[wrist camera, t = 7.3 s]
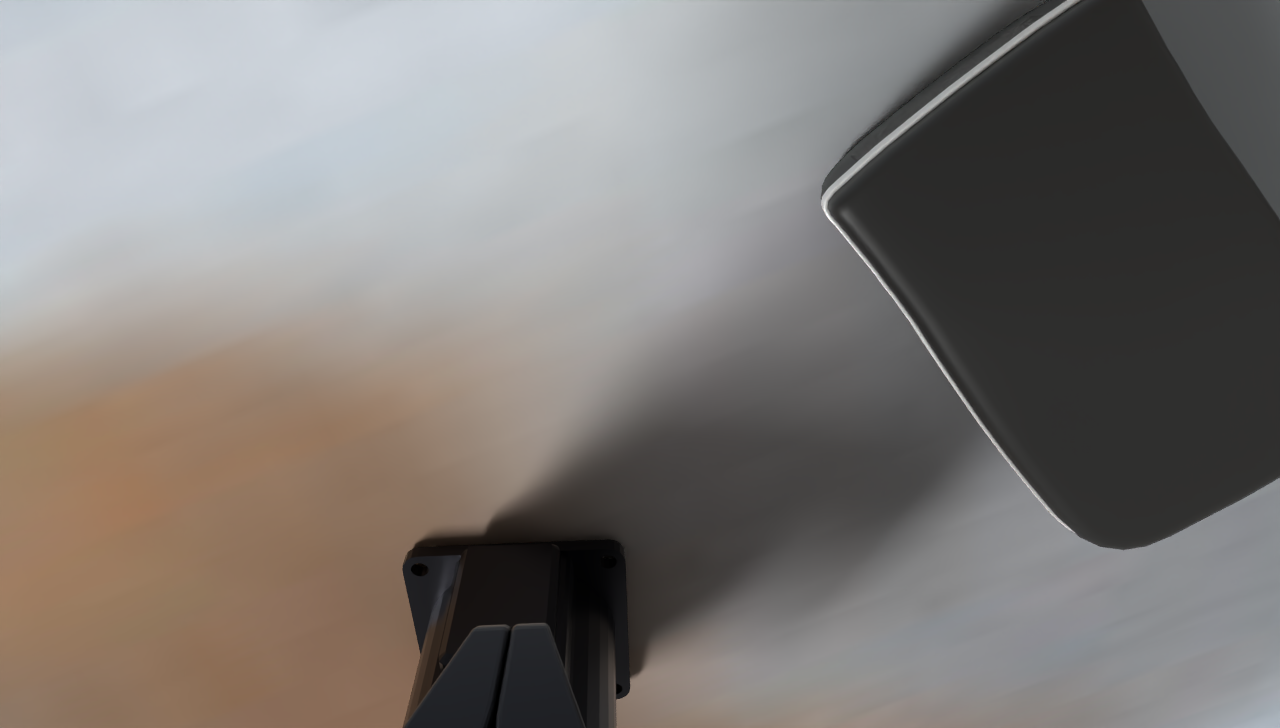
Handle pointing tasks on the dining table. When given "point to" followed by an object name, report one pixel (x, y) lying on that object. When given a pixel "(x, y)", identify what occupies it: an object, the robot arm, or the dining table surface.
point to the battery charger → (1083, 268)
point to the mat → (1232, 74)
